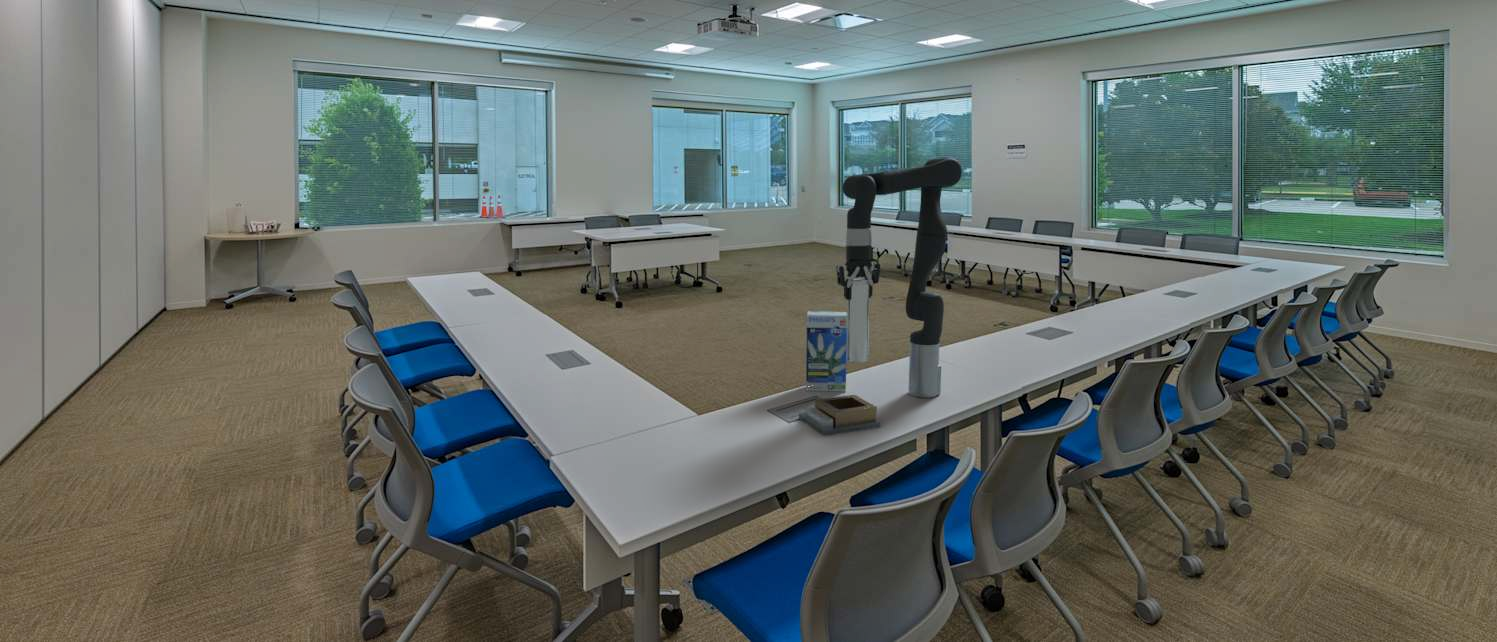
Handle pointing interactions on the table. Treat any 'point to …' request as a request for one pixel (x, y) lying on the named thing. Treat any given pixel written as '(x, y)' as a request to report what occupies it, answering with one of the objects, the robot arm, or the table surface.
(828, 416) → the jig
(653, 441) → the table surface
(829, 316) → the string lights box
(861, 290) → the white tall cylinder
